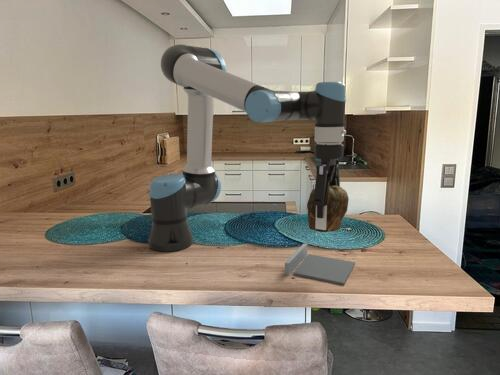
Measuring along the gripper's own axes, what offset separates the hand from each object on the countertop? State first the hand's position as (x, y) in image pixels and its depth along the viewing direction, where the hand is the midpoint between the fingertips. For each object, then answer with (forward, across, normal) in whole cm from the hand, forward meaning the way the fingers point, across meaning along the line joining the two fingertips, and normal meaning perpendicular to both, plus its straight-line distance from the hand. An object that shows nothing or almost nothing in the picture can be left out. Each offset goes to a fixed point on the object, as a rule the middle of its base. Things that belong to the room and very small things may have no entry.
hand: (326, 222), depth 99 cm
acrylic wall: (+14, 0, +9) cm, 16 cm away
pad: (+14, 0, 0) cm, 14 cm away
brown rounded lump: (+2, 0, 0) cm, 2 cm away
